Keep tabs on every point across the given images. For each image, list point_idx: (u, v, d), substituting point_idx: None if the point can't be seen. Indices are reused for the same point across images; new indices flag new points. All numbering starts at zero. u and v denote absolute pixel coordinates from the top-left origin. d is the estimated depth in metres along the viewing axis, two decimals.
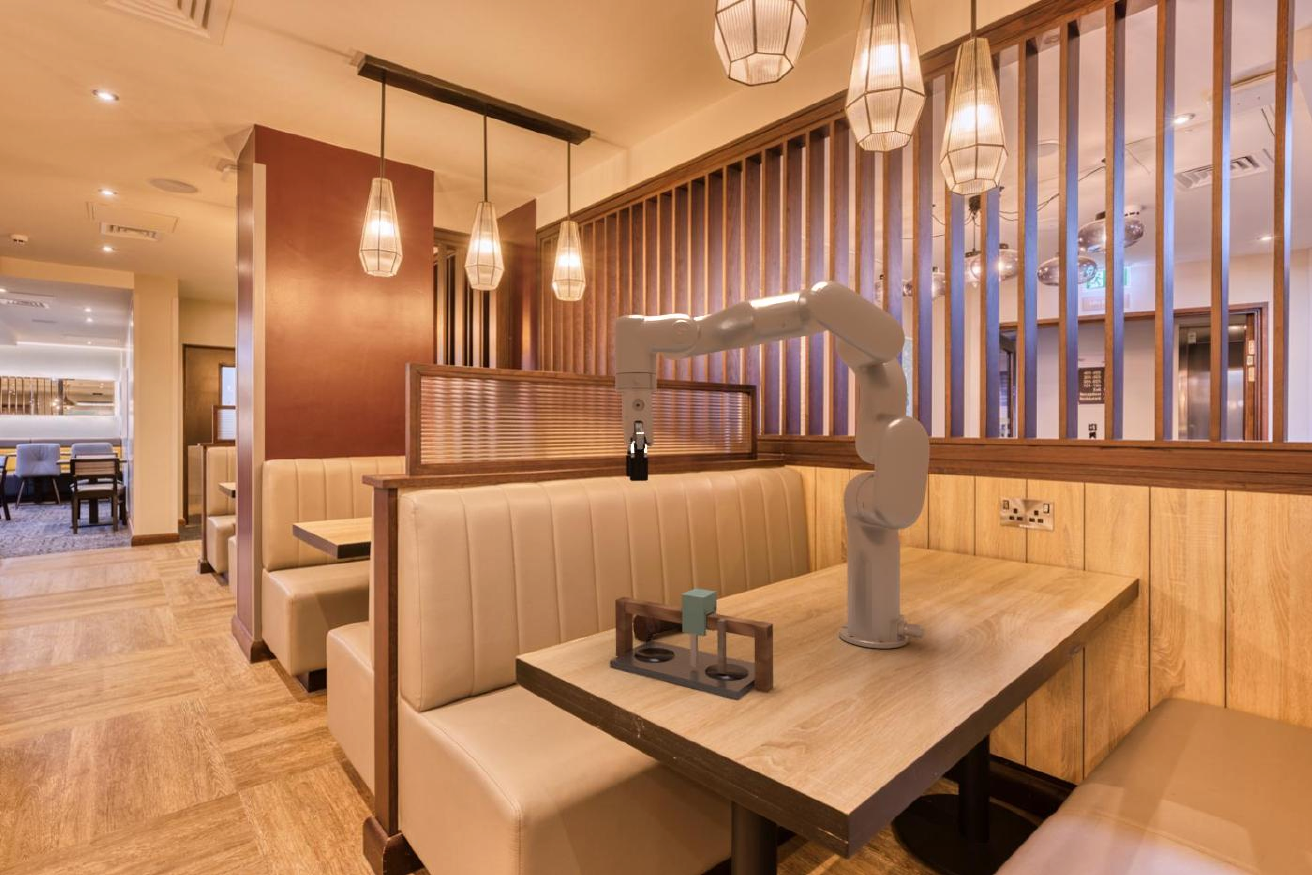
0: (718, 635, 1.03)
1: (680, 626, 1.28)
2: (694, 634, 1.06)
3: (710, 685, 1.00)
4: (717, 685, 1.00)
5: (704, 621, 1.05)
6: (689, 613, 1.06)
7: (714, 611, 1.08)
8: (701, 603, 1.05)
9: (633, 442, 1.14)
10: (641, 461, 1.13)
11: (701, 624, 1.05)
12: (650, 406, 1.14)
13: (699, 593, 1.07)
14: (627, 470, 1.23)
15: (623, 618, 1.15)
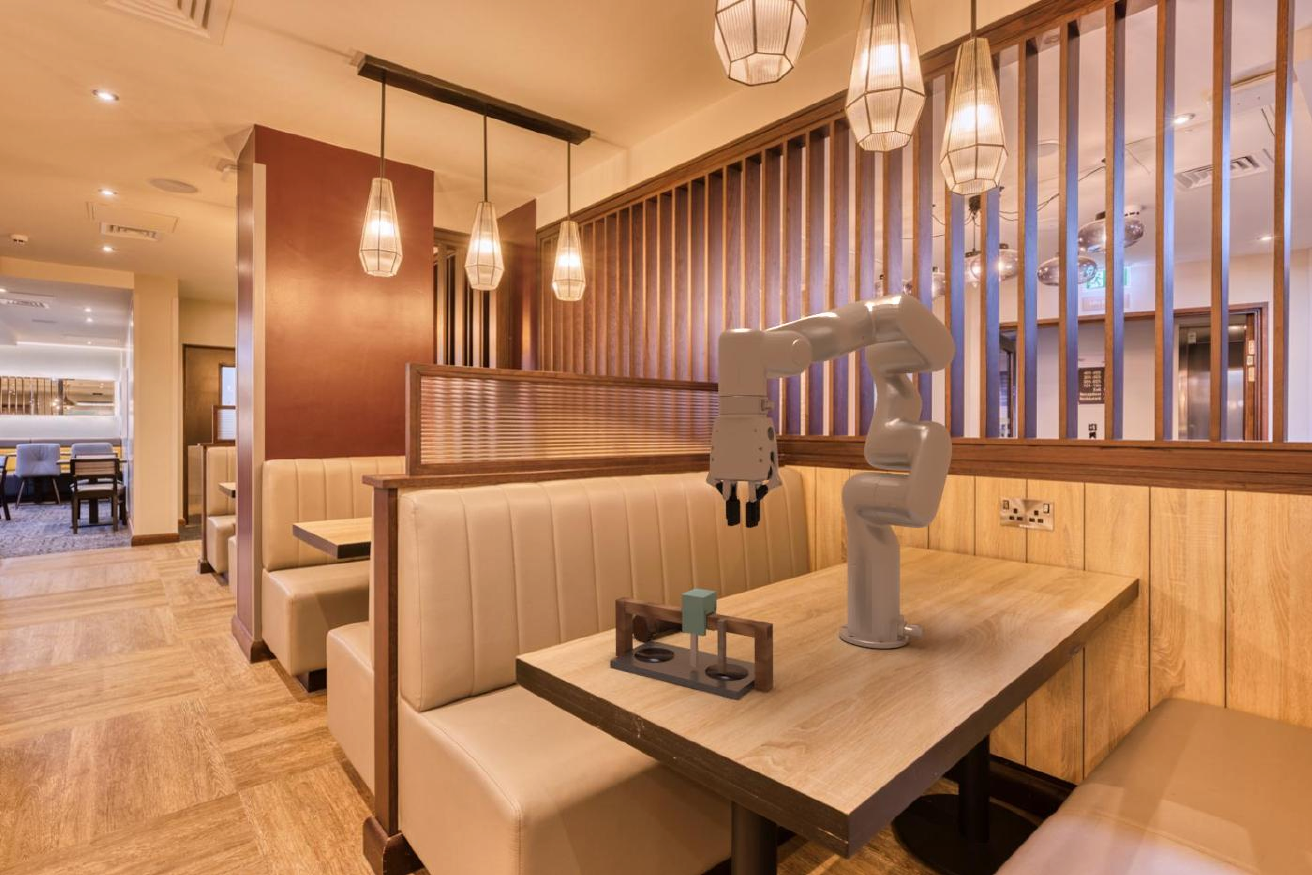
0: (718, 635, 1.03)
1: (678, 626, 1.29)
2: (694, 634, 1.06)
3: (710, 685, 1.00)
4: (717, 685, 1.00)
5: (704, 621, 1.05)
6: (689, 613, 1.06)
7: (714, 611, 1.08)
8: (701, 603, 1.05)
9: (756, 483, 1.00)
10: (759, 504, 1.01)
11: (701, 624, 1.05)
12: (775, 435, 1.02)
13: (699, 593, 1.07)
14: (731, 519, 1.02)
15: (623, 618, 1.15)
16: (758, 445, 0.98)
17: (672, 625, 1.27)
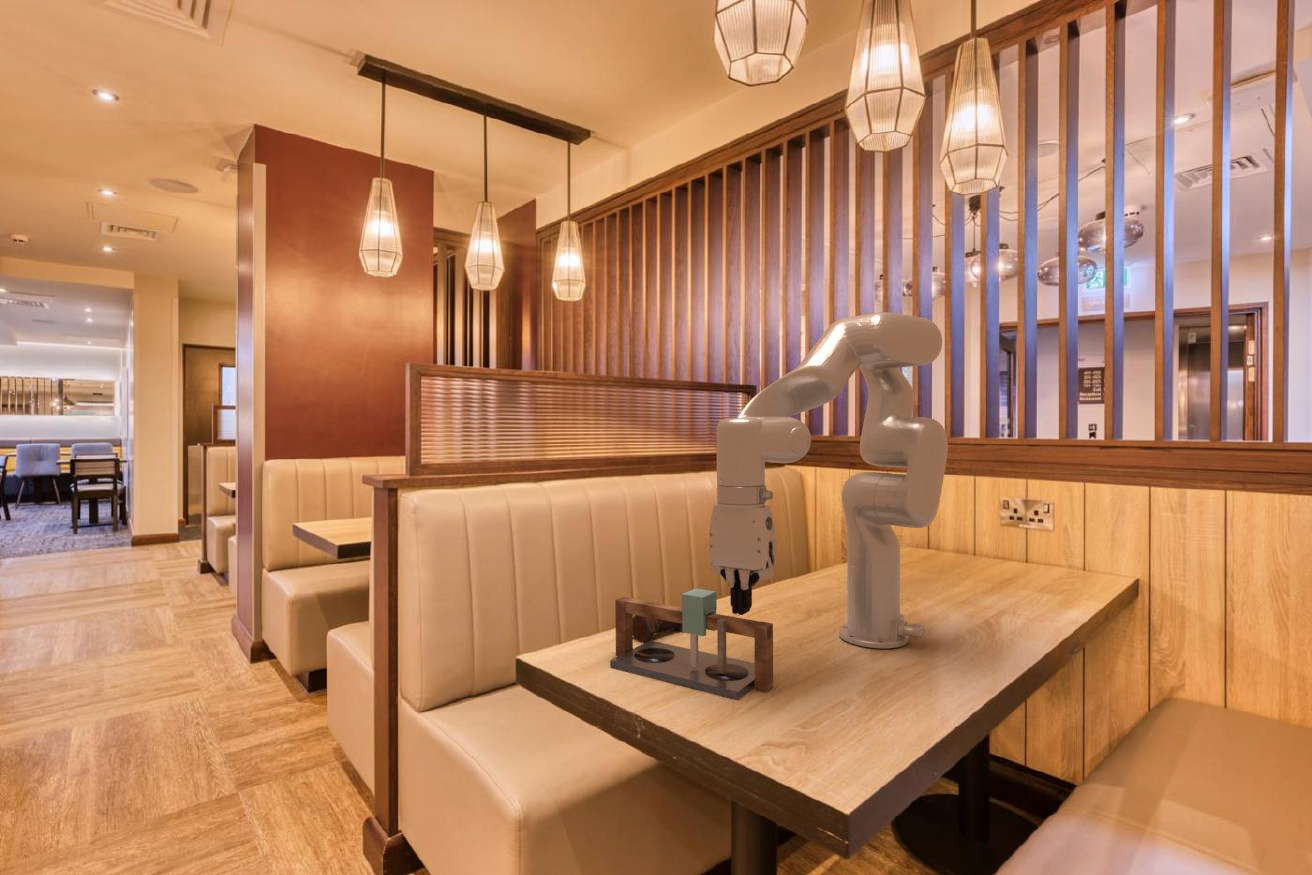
0: (718, 635, 1.03)
1: (676, 625, 1.29)
2: (694, 634, 1.06)
3: (710, 685, 1.00)
4: (717, 685, 1.00)
5: (704, 621, 1.05)
6: (689, 613, 1.06)
7: (714, 611, 1.08)
8: (701, 603, 1.05)
9: (750, 572, 1.01)
10: (750, 591, 1.03)
11: (701, 624, 1.05)
12: (773, 523, 1.02)
13: (699, 593, 1.07)
14: (736, 606, 1.02)
15: (623, 618, 1.15)
16: (756, 536, 0.99)
17: (671, 625, 1.27)
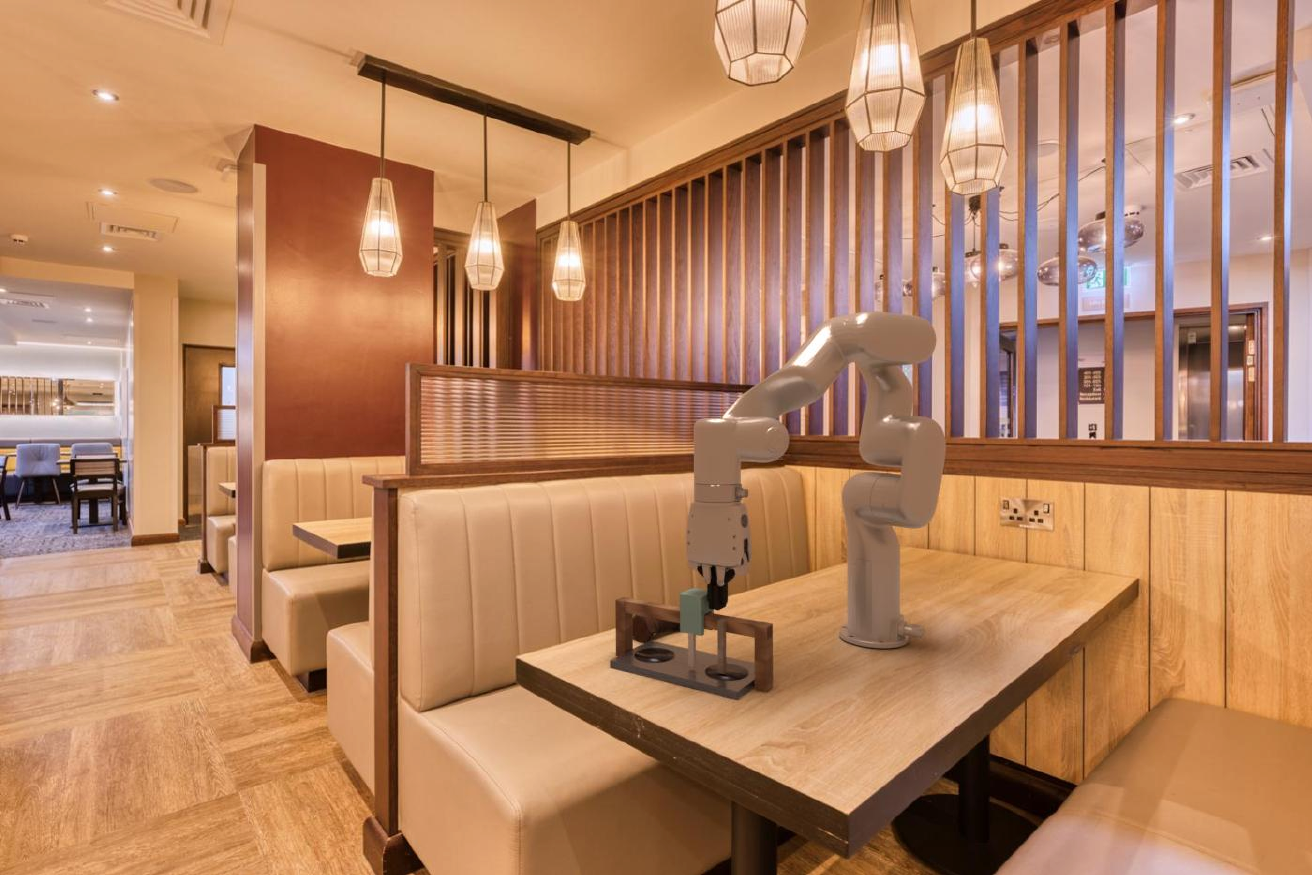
0: (718, 635, 1.03)
1: (676, 625, 1.29)
2: (692, 634, 1.06)
3: (710, 685, 1.00)
4: (717, 685, 1.00)
5: (702, 621, 1.05)
6: (687, 613, 1.06)
7: (712, 611, 1.08)
8: (698, 603, 1.05)
9: (726, 569, 1.03)
10: (727, 587, 1.05)
11: (699, 624, 1.05)
12: None
13: (697, 593, 1.07)
14: (712, 602, 1.04)
15: (623, 618, 1.15)
16: (732, 533, 1.01)
17: (670, 625, 1.27)
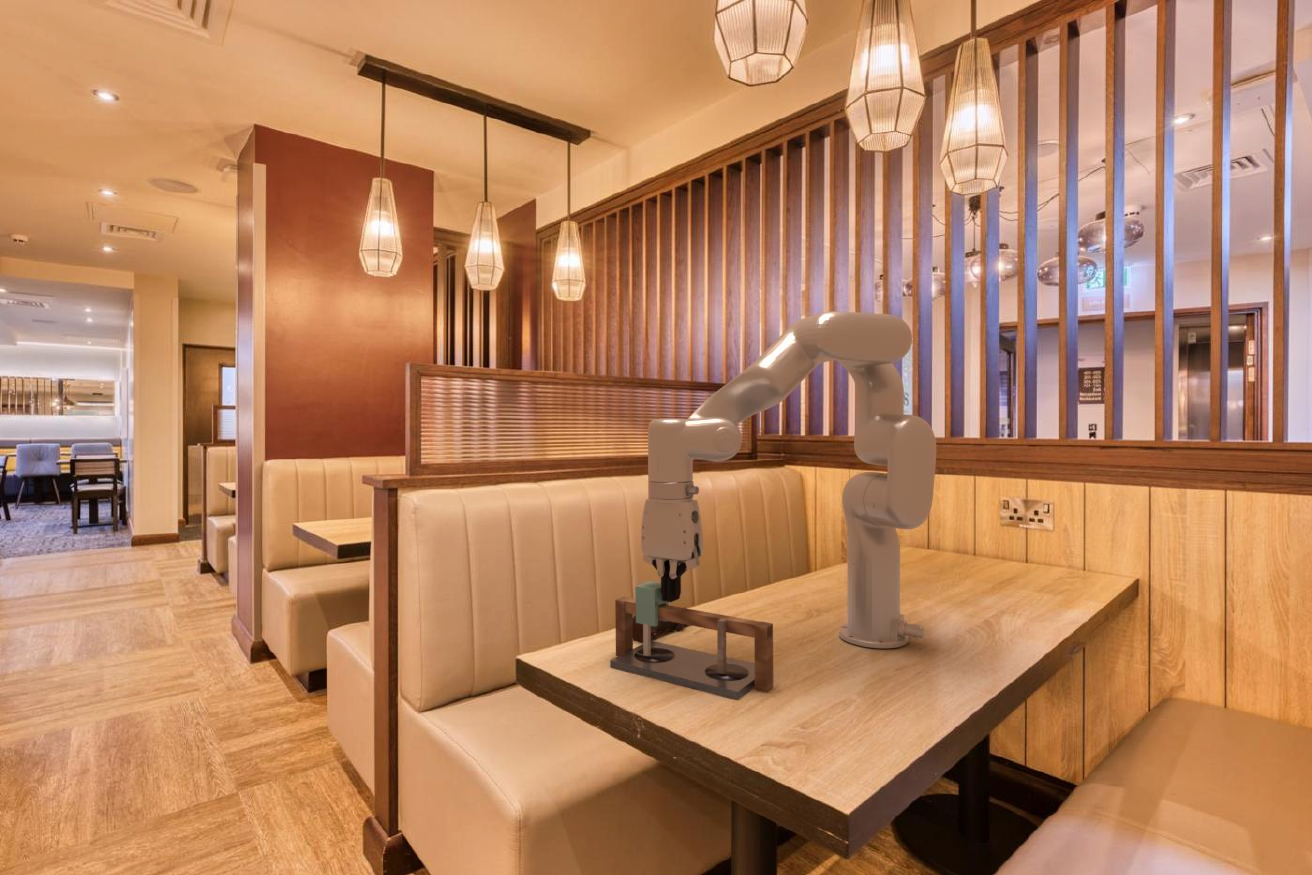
0: (718, 635, 1.03)
1: (673, 625, 1.29)
2: (646, 624, 1.11)
3: (710, 685, 1.00)
4: (717, 685, 1.00)
5: (656, 612, 1.10)
6: (642, 604, 1.11)
7: (666, 603, 1.13)
8: (652, 595, 1.10)
9: (678, 562, 1.08)
10: (679, 580, 1.10)
11: (653, 615, 1.10)
12: (700, 516, 1.09)
13: (652, 585, 1.12)
14: (665, 594, 1.09)
15: (623, 618, 1.15)
16: (682, 528, 1.06)
17: (668, 625, 1.28)
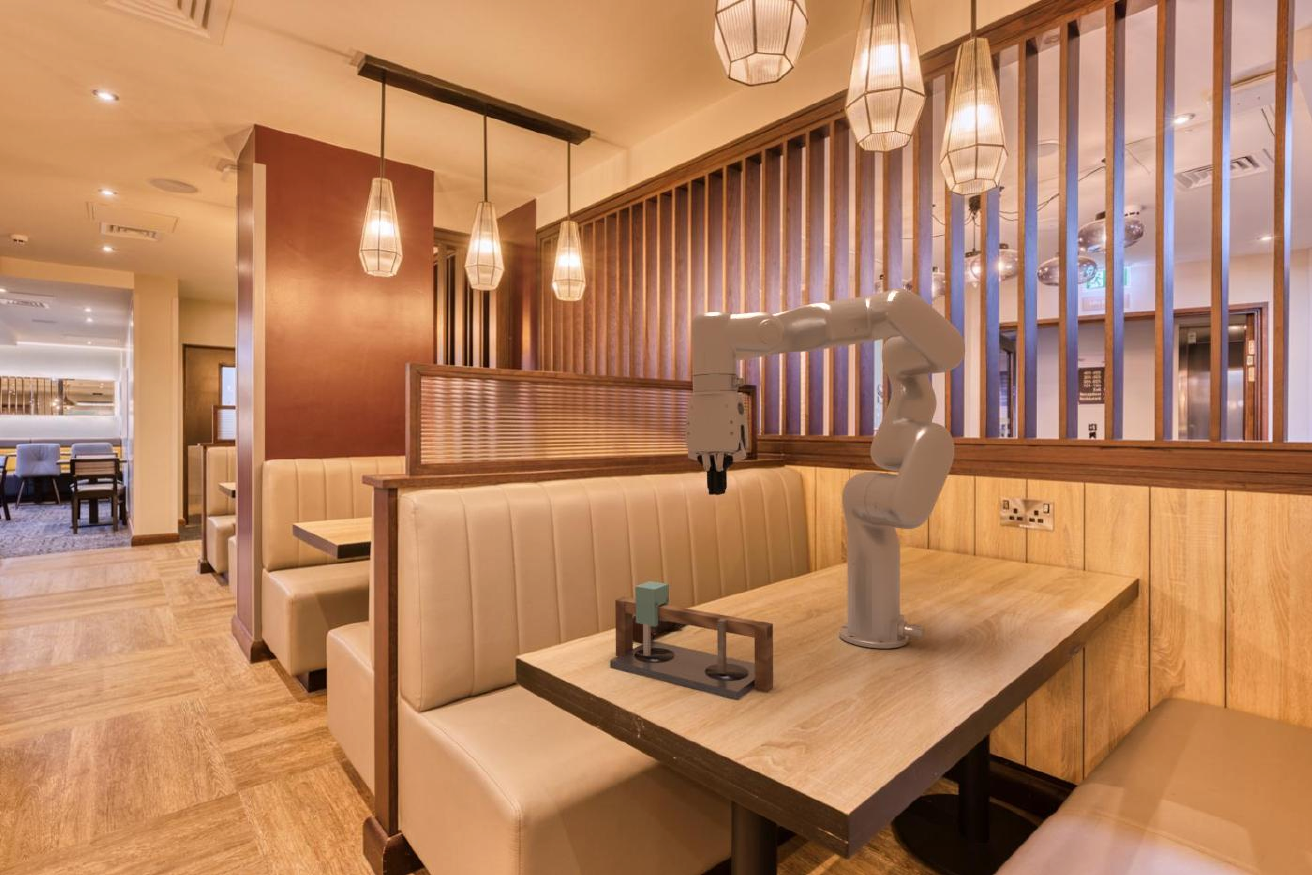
0: (718, 635, 1.03)
1: (671, 625, 1.29)
2: (646, 624, 1.11)
3: (710, 685, 1.00)
4: (717, 685, 1.00)
5: (656, 612, 1.10)
6: (642, 604, 1.11)
7: (666, 603, 1.13)
8: (652, 595, 1.10)
9: (725, 455, 1.10)
10: (725, 474, 1.11)
11: (653, 615, 1.10)
12: None
13: (652, 585, 1.12)
14: (712, 488, 1.10)
15: (623, 618, 1.15)
16: (729, 419, 1.07)
17: (667, 625, 1.27)
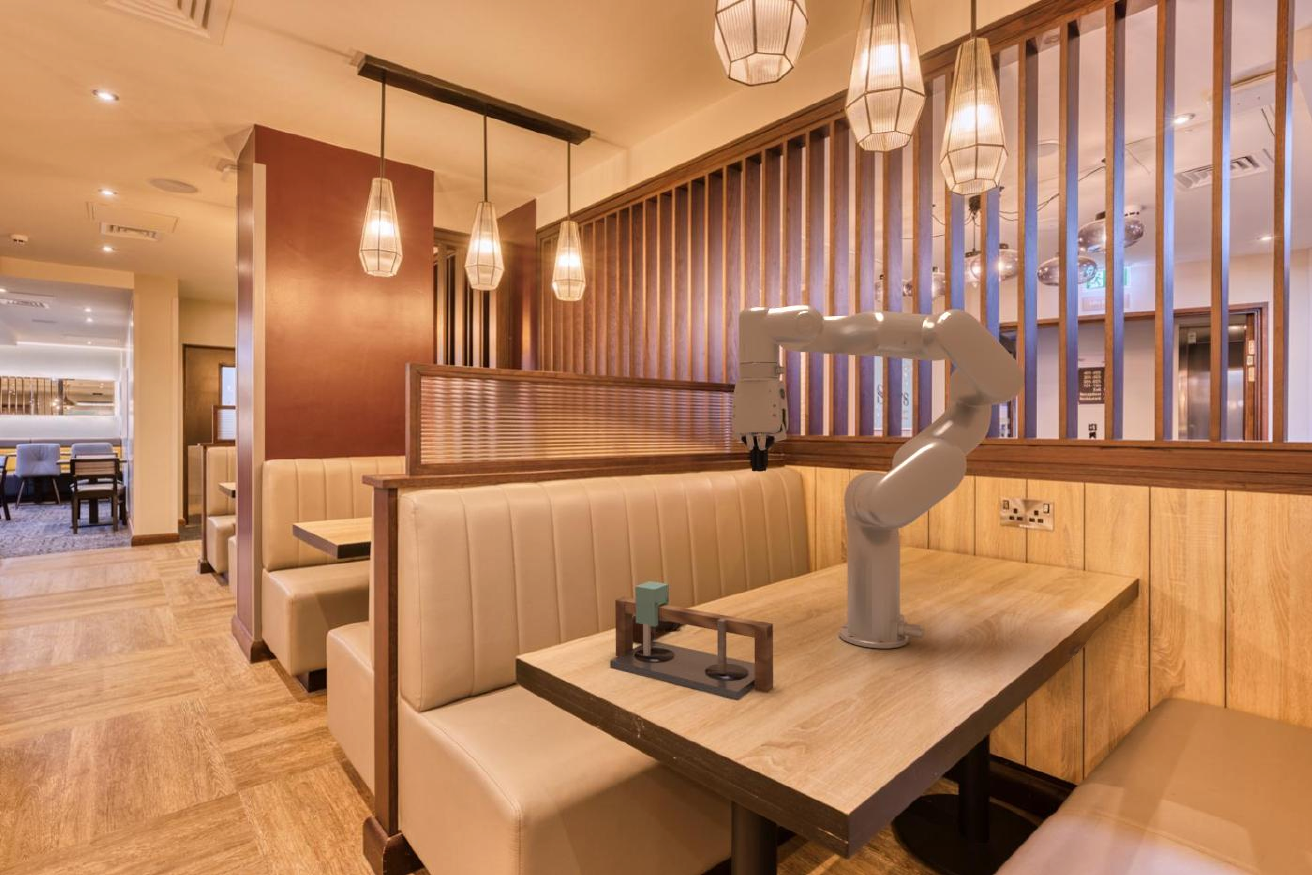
0: (718, 635, 1.03)
1: (670, 625, 1.29)
2: (646, 624, 1.11)
3: (710, 685, 1.00)
4: (717, 685, 1.00)
5: (656, 612, 1.10)
6: (642, 604, 1.11)
7: (666, 603, 1.13)
8: (652, 595, 1.10)
9: (767, 435, 1.22)
10: (767, 453, 1.23)
11: (653, 615, 1.10)
12: None
13: (652, 585, 1.12)
14: (755, 465, 1.23)
15: (623, 618, 1.15)
16: (772, 403, 1.20)
17: (666, 625, 1.27)
